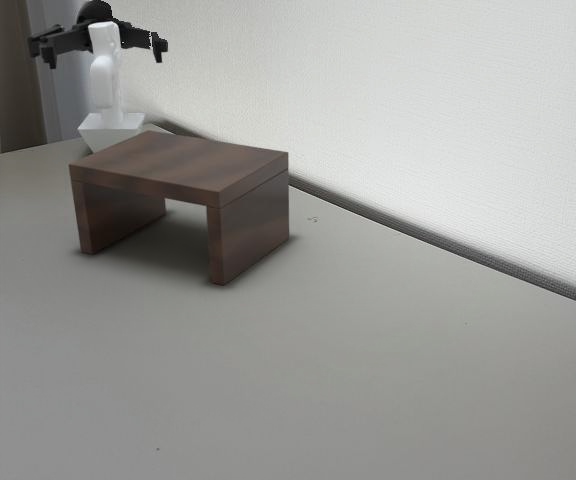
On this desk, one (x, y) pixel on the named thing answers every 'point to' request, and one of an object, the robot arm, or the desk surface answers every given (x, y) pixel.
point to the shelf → (185, 194)
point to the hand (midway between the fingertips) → (105, 55)
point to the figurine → (107, 92)
